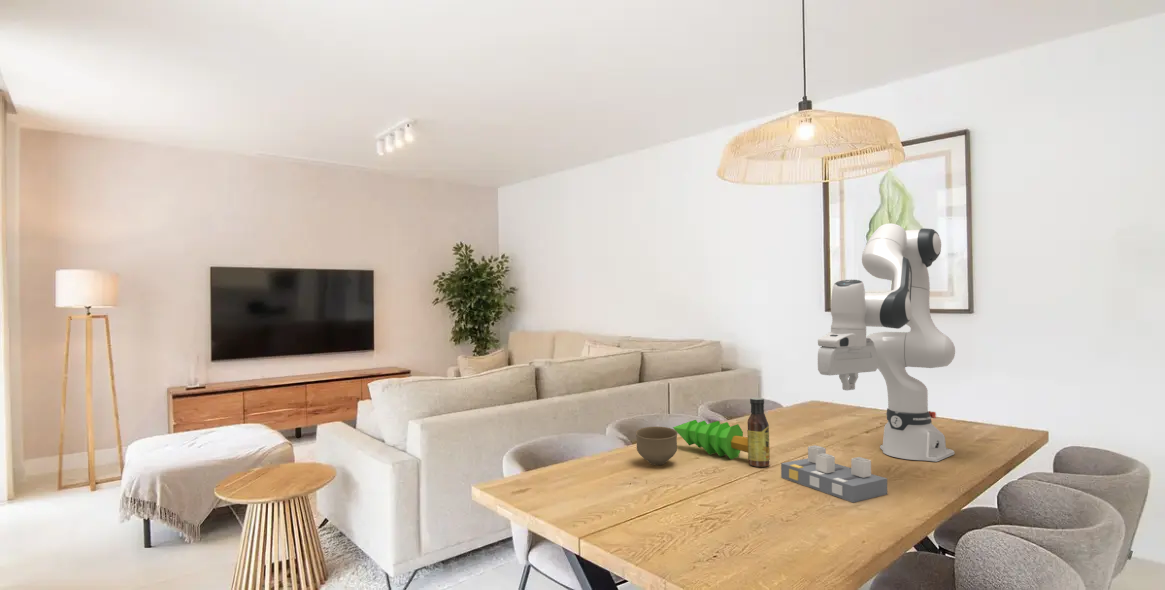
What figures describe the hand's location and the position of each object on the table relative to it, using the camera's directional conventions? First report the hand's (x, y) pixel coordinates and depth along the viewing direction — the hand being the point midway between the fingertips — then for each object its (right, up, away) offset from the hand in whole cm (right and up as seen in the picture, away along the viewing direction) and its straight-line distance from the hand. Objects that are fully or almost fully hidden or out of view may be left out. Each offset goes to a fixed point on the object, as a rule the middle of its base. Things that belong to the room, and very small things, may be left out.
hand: (848, 389), depth 161 cm
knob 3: (-1, -21, -8) cm, 22 cm away
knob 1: (-7, -21, +4) cm, 22 cm away
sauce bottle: (-20, -25, +16) cm, 36 cm away
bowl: (-50, -26, +18) cm, 59 cm away
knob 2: (-8, -21, -5) cm, 23 cm away
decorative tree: (-31, -26, +30) cm, 50 cm away
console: (-6, -25, -3) cm, 26 cm away
